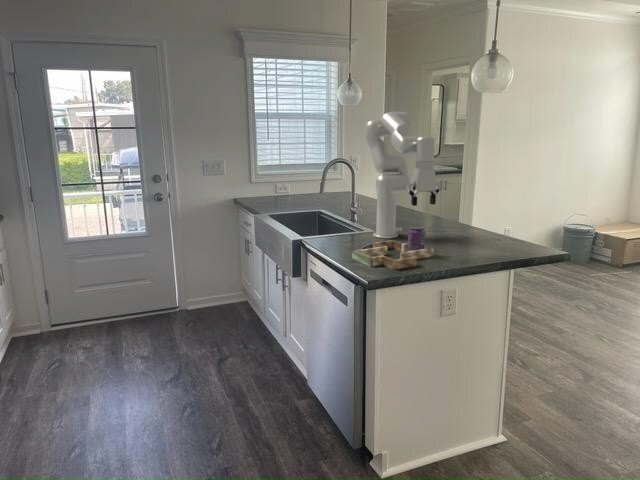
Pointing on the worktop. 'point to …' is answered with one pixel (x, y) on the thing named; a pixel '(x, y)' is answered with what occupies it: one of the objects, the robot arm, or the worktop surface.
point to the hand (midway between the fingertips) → (423, 204)
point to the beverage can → (416, 238)
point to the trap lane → (381, 249)
